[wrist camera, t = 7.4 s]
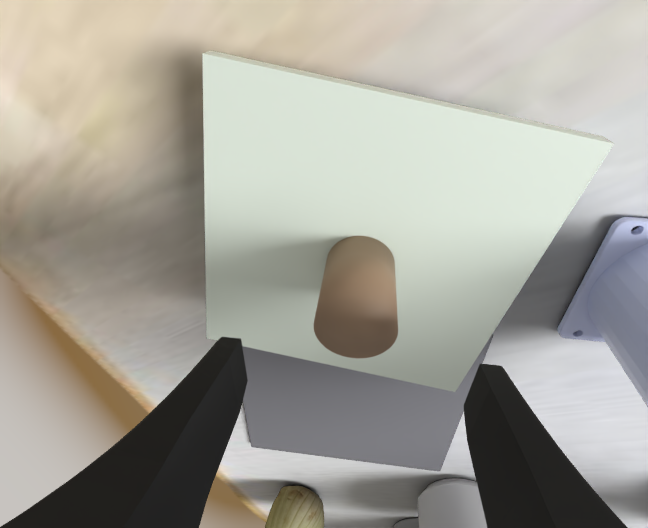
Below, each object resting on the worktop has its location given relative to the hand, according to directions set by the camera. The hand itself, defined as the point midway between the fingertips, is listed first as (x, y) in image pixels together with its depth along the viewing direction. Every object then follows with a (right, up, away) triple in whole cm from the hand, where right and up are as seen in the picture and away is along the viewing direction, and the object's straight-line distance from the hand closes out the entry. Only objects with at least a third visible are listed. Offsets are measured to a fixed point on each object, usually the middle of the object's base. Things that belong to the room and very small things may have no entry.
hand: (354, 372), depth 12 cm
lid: (+1, +4, +6) cm, 7 cm away
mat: (+1, -7, +18) cm, 19 cm away
